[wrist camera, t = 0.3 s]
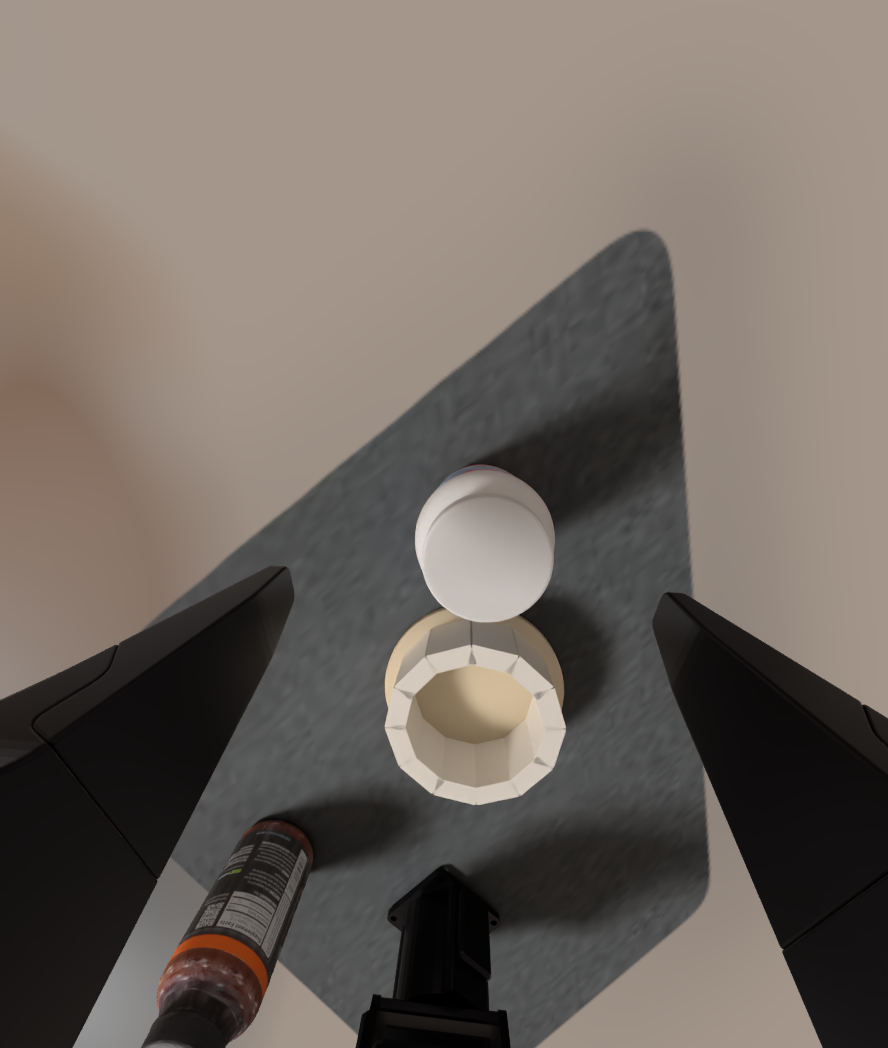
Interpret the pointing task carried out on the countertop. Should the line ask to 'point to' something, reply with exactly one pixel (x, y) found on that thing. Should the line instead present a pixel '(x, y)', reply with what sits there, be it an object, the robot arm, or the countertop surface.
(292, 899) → the supplement bottle
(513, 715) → the socket dock
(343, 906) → the countertop surface
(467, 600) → the pill bottle
